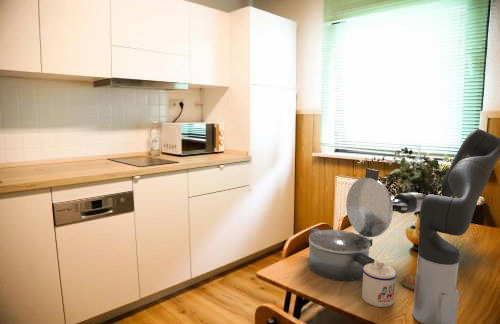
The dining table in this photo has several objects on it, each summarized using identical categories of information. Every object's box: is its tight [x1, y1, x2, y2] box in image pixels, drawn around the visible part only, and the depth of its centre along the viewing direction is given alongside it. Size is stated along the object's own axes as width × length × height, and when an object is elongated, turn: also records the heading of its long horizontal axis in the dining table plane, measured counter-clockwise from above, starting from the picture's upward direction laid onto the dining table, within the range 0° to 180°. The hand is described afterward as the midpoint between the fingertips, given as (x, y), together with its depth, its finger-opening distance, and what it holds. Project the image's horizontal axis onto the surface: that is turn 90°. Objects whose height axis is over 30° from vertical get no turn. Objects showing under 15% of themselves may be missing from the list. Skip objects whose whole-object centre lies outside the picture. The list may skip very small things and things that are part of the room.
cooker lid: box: [345, 168, 394, 238], centre depth 121 cm, size 21×24×4 cm
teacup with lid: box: [361, 260, 397, 308], centre depth 98 cm, size 12×9×12 cm
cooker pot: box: [308, 227, 376, 282], centre depth 118 cm, size 31×23×10 cm
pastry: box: [401, 275, 416, 291], centre depth 106 cm, size 9×7×4 cm
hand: (374, 206), depth 122 cm, fingers closed
